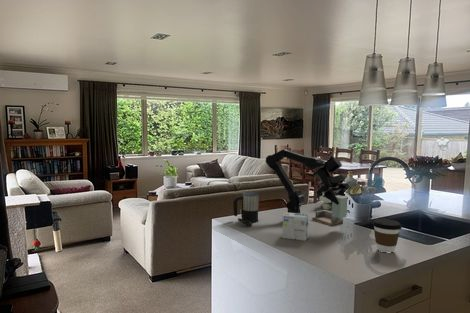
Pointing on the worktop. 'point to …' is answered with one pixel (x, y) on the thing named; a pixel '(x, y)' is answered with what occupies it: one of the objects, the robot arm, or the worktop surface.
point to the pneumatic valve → (324, 199)
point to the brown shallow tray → (327, 218)
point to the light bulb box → (295, 226)
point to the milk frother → (247, 207)
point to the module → (340, 207)
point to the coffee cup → (386, 234)
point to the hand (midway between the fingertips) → (341, 203)
